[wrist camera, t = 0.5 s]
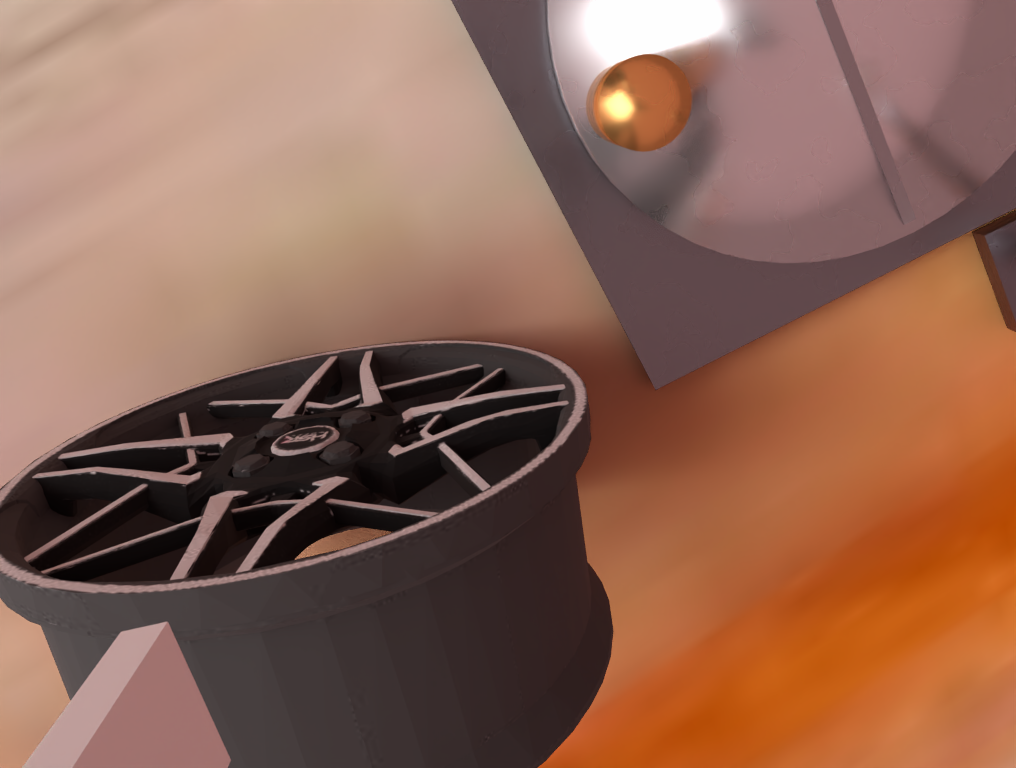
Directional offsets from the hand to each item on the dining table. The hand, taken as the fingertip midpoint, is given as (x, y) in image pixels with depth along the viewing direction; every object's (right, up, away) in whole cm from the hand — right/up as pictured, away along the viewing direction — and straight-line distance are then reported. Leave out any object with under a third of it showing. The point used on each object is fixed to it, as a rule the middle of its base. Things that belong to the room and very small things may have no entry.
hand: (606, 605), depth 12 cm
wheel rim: (-8, +1, +27) cm, 29 cm away
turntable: (+10, +18, +20) cm, 29 cm away
